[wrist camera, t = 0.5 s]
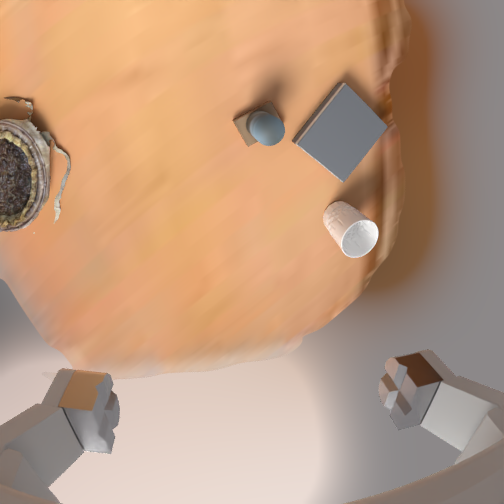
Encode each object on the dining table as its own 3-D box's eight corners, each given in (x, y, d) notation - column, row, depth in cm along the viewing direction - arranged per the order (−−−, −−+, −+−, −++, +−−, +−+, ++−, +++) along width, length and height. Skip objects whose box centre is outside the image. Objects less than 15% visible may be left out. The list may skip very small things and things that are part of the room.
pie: (48, 256, 56) (41, 270, 51) (-50, 210, 44) (-62, 220, 40) (92, 125, 46) (84, 130, 42) (-23, 80, 34) (-38, 82, 30)
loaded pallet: (246, 144, 53) (256, 156, 47) (232, 120, 51) (241, 128, 44) (281, 125, 53) (297, 134, 46) (268, 100, 50) (282, 105, 44)
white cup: (313, 226, 65) (333, 252, 57) (330, 192, 62) (354, 214, 53) (342, 236, 68) (365, 261, 60) (360, 204, 65) (385, 226, 56)
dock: (338, 82, 50) (346, 83, 48) (379, 123, 56) (388, 126, 53) (291, 141, 55) (296, 145, 52) (336, 177, 60) (343, 183, 58)
